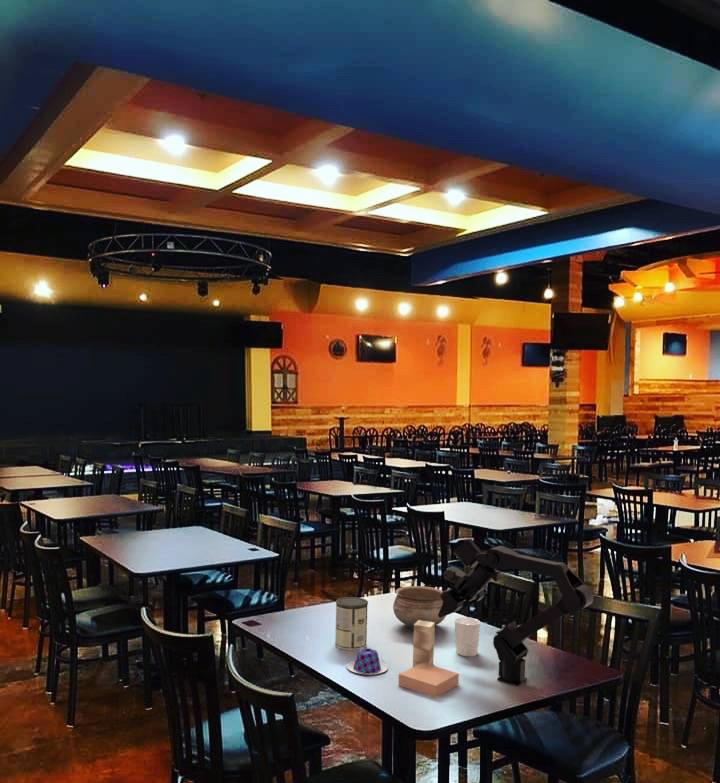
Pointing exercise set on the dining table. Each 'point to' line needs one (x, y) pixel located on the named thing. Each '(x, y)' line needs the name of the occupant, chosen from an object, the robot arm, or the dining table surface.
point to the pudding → (367, 662)
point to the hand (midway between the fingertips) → (446, 613)
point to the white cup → (467, 636)
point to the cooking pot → (418, 605)
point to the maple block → (423, 643)
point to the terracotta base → (428, 679)
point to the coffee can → (351, 623)
